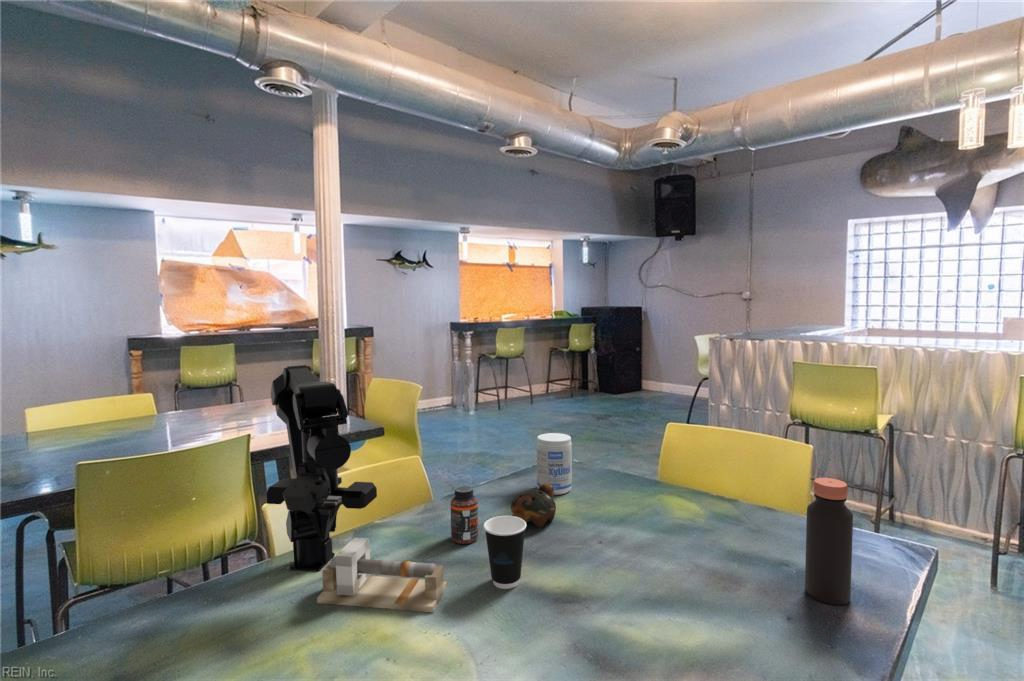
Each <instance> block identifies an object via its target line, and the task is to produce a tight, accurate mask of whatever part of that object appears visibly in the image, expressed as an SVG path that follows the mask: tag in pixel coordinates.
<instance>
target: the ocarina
mask: <svg viewBox="0 0 1024 681" xmlns="http://www.w3.org/2000/svg"><path fill="white" fill-rule="evenodd" d="M510 503H511V504H510V511H511V516H515V517H519V518H521V519H523V520H524V521H525V522H526V524H527V523H528V522H532V523H533V524H534V525H535V527H536V528H538V529H542V528H543V526H544V525H546V523H547V522H548V523H551V522H552V521H553V520H554V518H555V515H556V511H557V510H556V509H557V505H556V502H555V500H554V490H553V486H552V485H551V484H549V483H545V484H542V485H541V486H539V488H537V489H536V488H531V489H526V490H525V491H522V492H520V493H519V494H517V495H516V496H515V497H514V499H513V500H512V501H511V502H510Z"/></svg>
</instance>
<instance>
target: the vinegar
mask: <svg viewBox="0 0 1024 681" xmlns="http://www.w3.org/2000/svg"><path fill="white" fill-rule="evenodd" d="M813 496H814V497H815V500H813V501H812V502H810V503H809V504H808V505H807V508H806V528H805V529H806V530H805V533H806V534H805V563H804V564H805V565H804V566H805V568H804V570H805V571H804V572H805V573H804V590H805V592H806V594H808V595H809V596H810V597H811V598H813V599H814V600H816V601H819V602H821V603H822V604H823V603H824V604H827V605H833V606H843V605H847V604H848V603H849V602H850V601H851V596H852V594H851V593H852V592H851V590H852V563H853V562H852V561H853V560H852V559H853V535H854V533H853V532H854V531H853V530H854V527H853V526H854V514H853V512H852V511H851V510H850V509H849V508H848V507H847V506H846V505H845V502H847V500H848V483H846V482H844V481H843V480H841V479H837V478H831V477H817V478H815V479H814V480H813Z"/></svg>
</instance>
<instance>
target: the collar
mask: <svg viewBox="0 0 1024 681" xmlns="http://www.w3.org/2000/svg"><path fill="white" fill-rule="evenodd" d="M370 547H371V546H370V538H367V537H352V539H351V540H350V541H349V542H347V543H346V544H345V546H344V547H342V549H341V550H339V552H338V553H337V554H335V556H334V557H335V559H336V581H337V595H349V596H354V594H355V593H356V592H357V591H358V590H359V588H360V587H361V586H362V585H363V583H364V582H365V581H366V580H367V579H368V577H369V576H372V574H361V573H357V561H358V560H359V559H371V552H370V551H371V550H370Z"/></svg>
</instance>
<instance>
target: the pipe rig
mask: <svg viewBox="0 0 1024 681" xmlns="http://www.w3.org/2000/svg"><path fill="white" fill-rule="evenodd" d="M357 573H361V574H371V575H370V576H369V577H368V579H367V580H366V581H365V582H364V583H363V585H362V586H361V587H360V588H359V590H358V591H357V592H356V593H355V594H354V596H349V595H337V581H336V559H335V556H334V557H333V558H332V559H331V560H330V561H329V562H328V563H327V564H326V565H325V566H324V567H323V568H322V569H321V575H322V592H320V594H319V595H318V596H317V597H316V598H317V599H316V600H317V602H316V603H317V604H326V605H338V606H352V607H363V608H374V609H385V608H388V610H390V609H391V610H399V611H401V610H402V611H412V612H423V613H424V612H425V613H434V612H435V610H436V608H437V606H438V604H439V602H440V600H441V599H442V597H443V595H444V593H445V591H446V589H447V587H448V585H447V584H448V583H447V582H448V581H446V580H444V566H443V565H441V564H440V565H437V564H436V563H432V562H431V563H430V562H429V563H428V562H413V561H410V560H403V561H401V560H397V561H396V560H386V559H385V560H384V559H371V558H370V559H359V560H358V561H357ZM377 575H378V576H377ZM391 576H392V577H391ZM389 608H390V609H389Z"/></svg>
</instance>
